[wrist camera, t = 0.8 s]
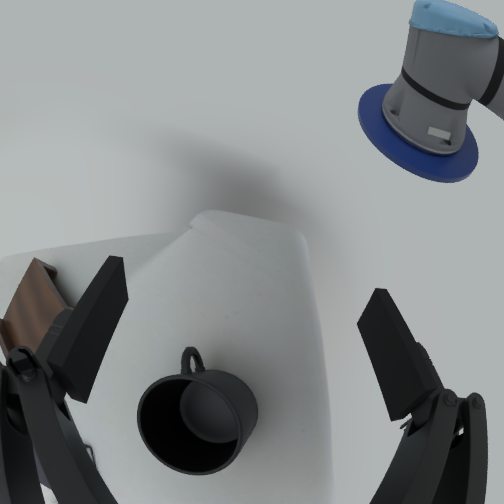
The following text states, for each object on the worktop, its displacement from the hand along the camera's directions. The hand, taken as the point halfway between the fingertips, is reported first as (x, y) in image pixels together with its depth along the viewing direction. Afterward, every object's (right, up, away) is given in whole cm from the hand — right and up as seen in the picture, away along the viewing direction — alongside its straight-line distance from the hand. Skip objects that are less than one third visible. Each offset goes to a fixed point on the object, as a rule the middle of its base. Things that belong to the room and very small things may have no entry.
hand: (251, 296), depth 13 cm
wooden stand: (-33, -10, +20) cm, 39 cm away
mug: (-4, -14, +14) cm, 20 cm away
